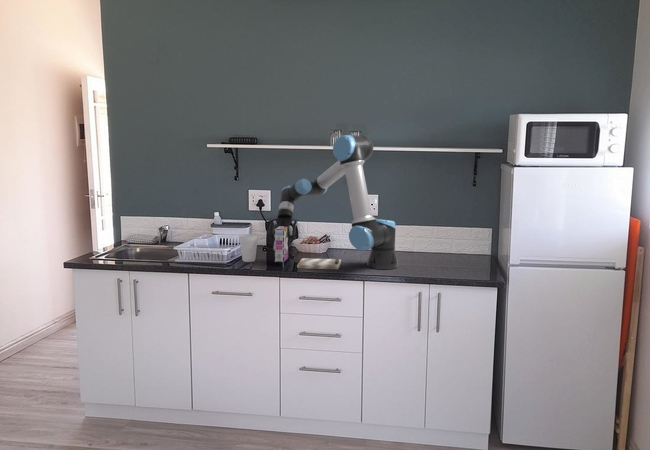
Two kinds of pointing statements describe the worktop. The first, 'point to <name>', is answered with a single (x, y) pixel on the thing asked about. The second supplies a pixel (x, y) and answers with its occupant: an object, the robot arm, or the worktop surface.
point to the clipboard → (319, 263)
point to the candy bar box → (280, 244)
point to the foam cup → (248, 246)
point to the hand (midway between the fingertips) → (280, 249)
